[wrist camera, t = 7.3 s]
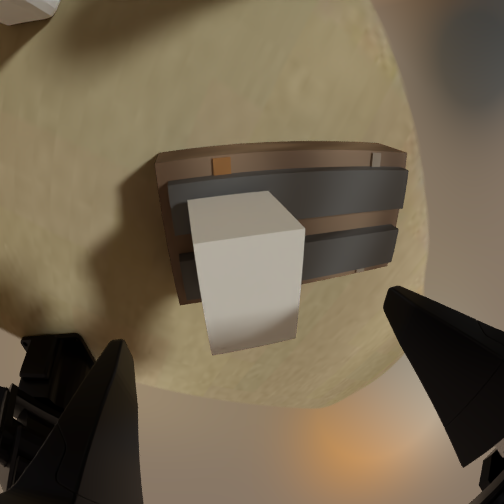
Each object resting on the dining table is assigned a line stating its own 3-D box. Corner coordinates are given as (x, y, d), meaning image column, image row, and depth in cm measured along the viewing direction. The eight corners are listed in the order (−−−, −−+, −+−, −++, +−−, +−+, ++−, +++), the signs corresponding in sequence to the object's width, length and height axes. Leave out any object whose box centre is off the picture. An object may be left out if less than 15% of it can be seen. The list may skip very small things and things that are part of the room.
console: (378, 143, 17) (415, 156, 14) (364, 246, 21) (393, 271, 18) (158, 153, 14) (153, 167, 11) (177, 276, 18) (180, 314, 15)
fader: (261, 184, 13) (305, 228, 9) (262, 273, 16) (295, 338, 11) (186, 193, 12) (192, 244, 8) (198, 283, 15) (212, 355, 11)
